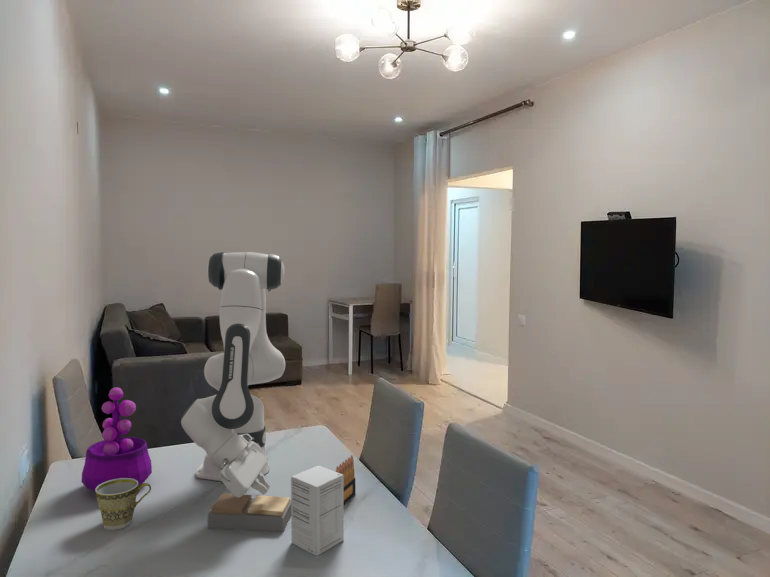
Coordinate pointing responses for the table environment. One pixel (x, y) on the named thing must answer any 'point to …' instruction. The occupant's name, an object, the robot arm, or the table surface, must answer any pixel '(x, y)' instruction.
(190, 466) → the table surface
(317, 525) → the supplement box
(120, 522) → the ceramic cup
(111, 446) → the decorative plant
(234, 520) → the floor base
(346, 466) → the ammunition clip
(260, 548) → the table surface
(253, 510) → the oak plank
